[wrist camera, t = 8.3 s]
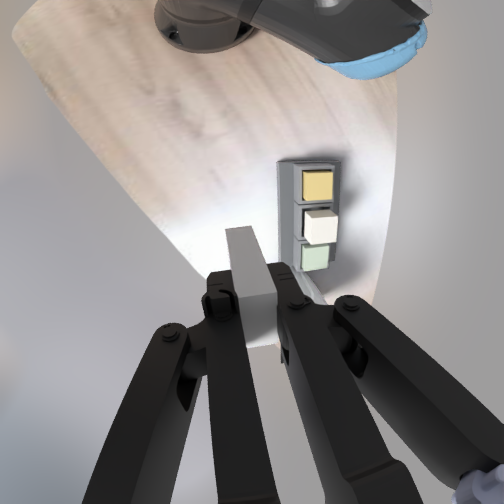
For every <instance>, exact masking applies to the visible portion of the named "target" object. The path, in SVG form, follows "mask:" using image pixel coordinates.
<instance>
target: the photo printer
mask: <svg viewBox="0 0 504 504" xmlns="http://www.w3.org/2000/svg"><path fill="white" fill-rule="evenodd" d="M290 268H291V270H292V272H293V274H294V276H295V278H296V280H297V282H298V284H299V286H300V288H301V290H302V291H303V293H304V295H307V296H309V297H310V298H311V299H312V300H313V301H314V303H316V304H321V305H328V304H327V303H326V301H325V299H324V298H323V296H322V294H321V292H320V291H319V289H318V288H317V287H316V285H315V284H314V282H313V281H312V280H311V279H310V277H309V276H308V275H307V274H306V272H298V273H297V271H296V269H295V267H294V266H290Z"/></svg>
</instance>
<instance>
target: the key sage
mask: <svg viewBox="0 0 504 504" xmlns="http://www.w3.org/2000/svg"><path fill="white" fill-rule="evenodd" d="M328 254H329V245H328V244H327V243H322V244H314V245H311V244H310V243H307V244H301V267H302V268H303V270H304V271H310V270H317V269H324V268H327V265H328Z"/></svg>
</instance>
